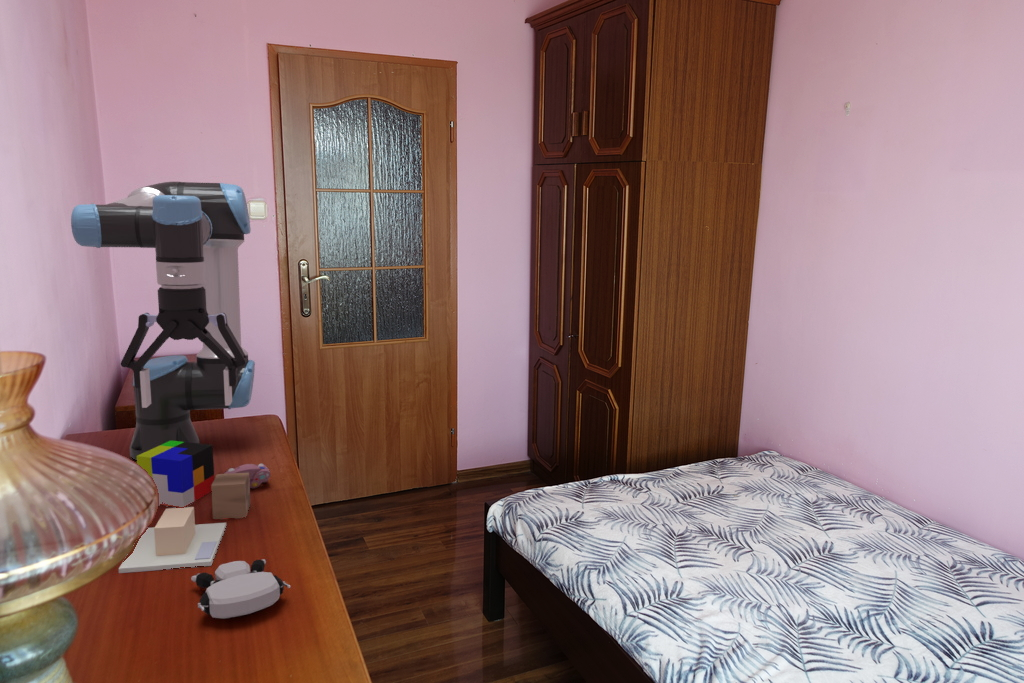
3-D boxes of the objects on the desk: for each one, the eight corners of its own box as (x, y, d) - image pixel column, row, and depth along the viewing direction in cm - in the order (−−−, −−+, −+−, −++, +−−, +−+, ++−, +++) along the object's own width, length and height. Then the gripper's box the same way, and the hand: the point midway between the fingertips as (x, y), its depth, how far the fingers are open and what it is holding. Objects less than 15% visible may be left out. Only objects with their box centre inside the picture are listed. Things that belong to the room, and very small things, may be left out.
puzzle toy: (183, 508, 137) (181, 460, 135) (139, 503, 139) (136, 456, 137) (214, 489, 146) (212, 444, 145) (173, 484, 148) (170, 440, 147)
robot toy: (188, 594, 108) (204, 637, 96) (186, 566, 108) (202, 606, 95) (268, 574, 115) (293, 611, 102) (266, 548, 114) (291, 583, 102)
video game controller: (222, 500, 145) (223, 477, 141) (218, 485, 148) (220, 461, 144) (271, 492, 150) (273, 469, 146) (266, 477, 153) (268, 454, 149)
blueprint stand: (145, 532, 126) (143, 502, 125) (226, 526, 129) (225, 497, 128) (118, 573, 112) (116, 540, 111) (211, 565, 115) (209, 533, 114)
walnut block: (218, 507, 138) (217, 474, 137) (250, 505, 139) (249, 472, 138) (213, 520, 132) (211, 485, 131) (246, 517, 134) (244, 483, 132)
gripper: (93, 287, 113) (103, 412, 117) (254, 289, 118) (258, 408, 122) (110, 283, 120) (118, 400, 124) (260, 284, 125) (264, 397, 129)
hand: (188, 404), depth 123 cm, fingers open, 13 cm apart
